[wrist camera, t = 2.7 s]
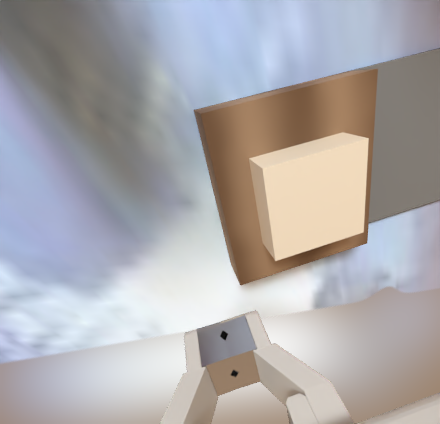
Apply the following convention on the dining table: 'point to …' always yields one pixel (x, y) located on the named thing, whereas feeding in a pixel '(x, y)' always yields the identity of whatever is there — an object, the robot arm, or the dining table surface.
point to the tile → (311, 193)
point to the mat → (406, 135)
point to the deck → (273, 141)
